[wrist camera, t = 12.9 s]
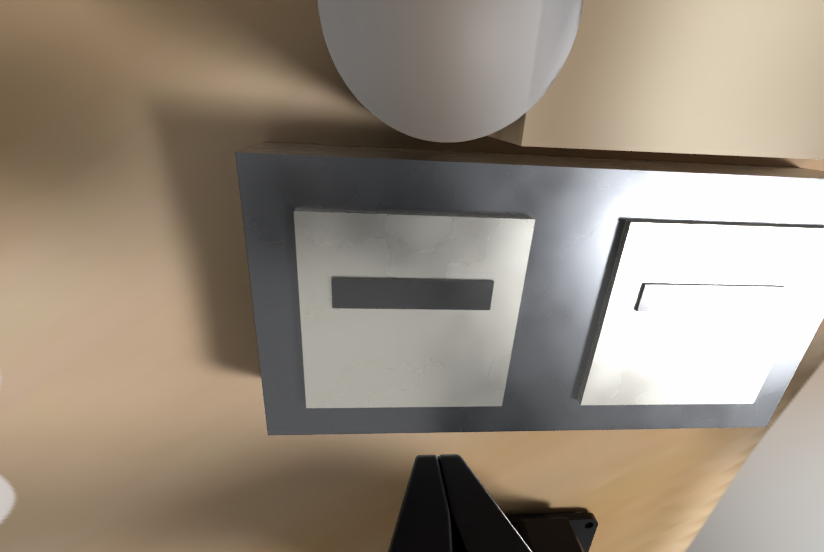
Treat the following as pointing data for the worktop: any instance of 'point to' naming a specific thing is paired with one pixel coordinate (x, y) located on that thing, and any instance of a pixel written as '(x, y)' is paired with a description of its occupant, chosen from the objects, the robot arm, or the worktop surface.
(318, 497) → the worktop surface
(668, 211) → the slab
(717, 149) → the notched beige block
